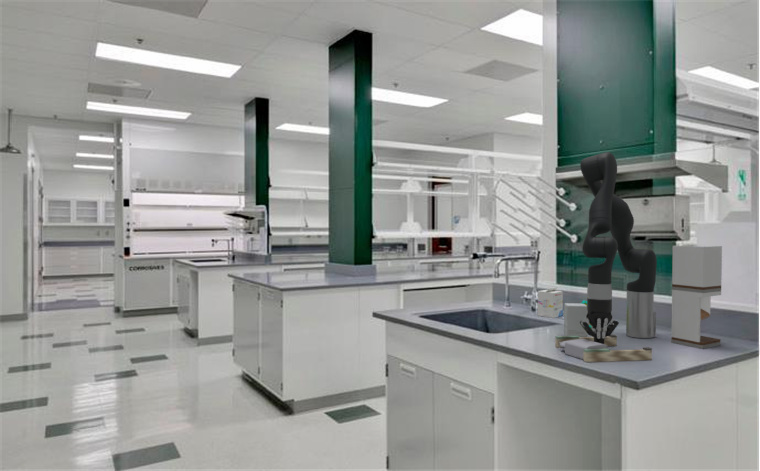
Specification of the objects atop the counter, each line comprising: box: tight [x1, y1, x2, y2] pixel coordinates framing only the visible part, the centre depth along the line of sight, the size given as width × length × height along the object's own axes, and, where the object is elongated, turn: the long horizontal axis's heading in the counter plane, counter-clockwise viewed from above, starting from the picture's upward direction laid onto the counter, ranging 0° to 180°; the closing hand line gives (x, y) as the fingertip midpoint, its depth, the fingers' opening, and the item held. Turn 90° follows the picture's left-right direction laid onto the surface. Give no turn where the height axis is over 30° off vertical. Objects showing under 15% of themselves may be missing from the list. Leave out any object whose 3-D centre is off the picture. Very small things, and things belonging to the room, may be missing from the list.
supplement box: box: [563, 302, 589, 337], centre depth 188 cm, size 7×7×13 cm
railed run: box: [554, 334, 653, 363], centre depth 166 cm, size 22×20×4 cm
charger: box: [559, 339, 608, 360], centre depth 165 cm, size 5×9×15 cm
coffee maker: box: [670, 244, 723, 350], centre depth 179 cm, size 11×11×35 cm
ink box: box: [537, 286, 564, 319], centre depth 234 cm, size 9×8×13 cm
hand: (598, 349), depth 166 cm, fingers closed
